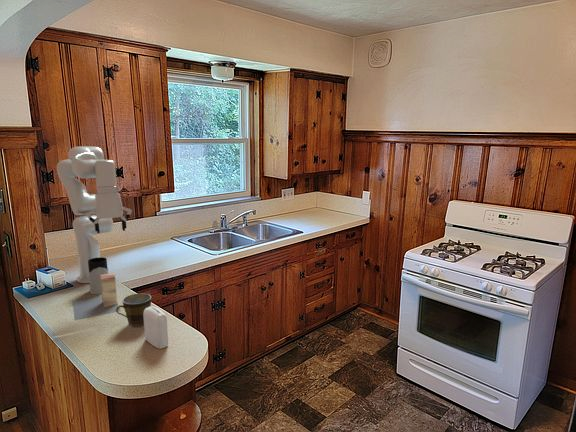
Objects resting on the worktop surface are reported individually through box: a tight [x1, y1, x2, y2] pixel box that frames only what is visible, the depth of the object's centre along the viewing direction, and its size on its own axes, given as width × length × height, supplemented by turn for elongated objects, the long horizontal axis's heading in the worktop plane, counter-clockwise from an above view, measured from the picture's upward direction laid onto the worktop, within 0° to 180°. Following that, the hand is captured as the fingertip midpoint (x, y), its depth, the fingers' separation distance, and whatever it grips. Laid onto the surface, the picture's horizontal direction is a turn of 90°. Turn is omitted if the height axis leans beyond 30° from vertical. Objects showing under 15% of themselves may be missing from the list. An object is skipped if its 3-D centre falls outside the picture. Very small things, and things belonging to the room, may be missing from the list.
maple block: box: [100, 272, 118, 307], centre depth 158 cm, size 5×5×12 cm
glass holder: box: [88, 256, 109, 295], centre depth 174 cm, size 9×14×15 cm, turn 33°
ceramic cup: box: [115, 292, 152, 329], centre depth 141 cm, size 13×10×10 cm
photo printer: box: [143, 306, 169, 350], centre depth 129 cm, size 10×4×12 cm, turn 47°
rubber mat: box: [72, 295, 121, 321], centre depth 157 cm, size 20×16×1 cm
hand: (111, 231), depth 159 cm, fingers open, 9 cm apart
